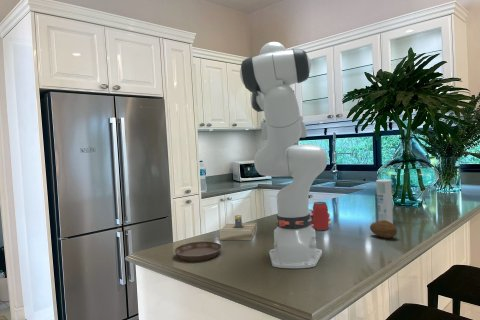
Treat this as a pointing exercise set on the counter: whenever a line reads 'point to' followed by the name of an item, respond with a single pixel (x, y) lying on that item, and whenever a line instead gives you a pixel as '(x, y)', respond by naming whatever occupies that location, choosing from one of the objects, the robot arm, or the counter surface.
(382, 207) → the spray can
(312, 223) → the candy landscape model
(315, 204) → the beer can
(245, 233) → the block
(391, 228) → the potato
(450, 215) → the counter surface
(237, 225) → the grey and gold cylinder
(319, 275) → the counter surface
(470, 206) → the counter surface
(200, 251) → the plant saucer
